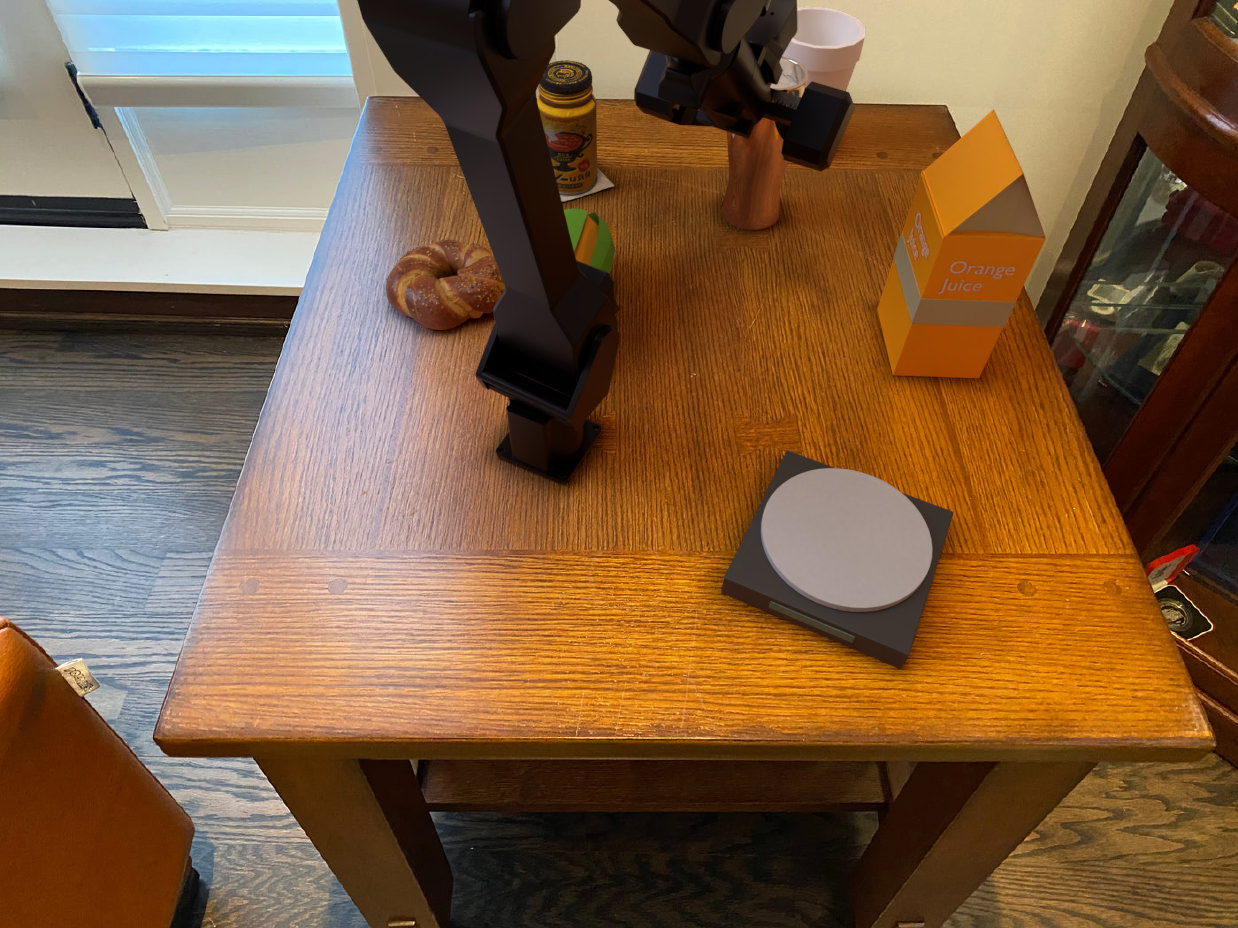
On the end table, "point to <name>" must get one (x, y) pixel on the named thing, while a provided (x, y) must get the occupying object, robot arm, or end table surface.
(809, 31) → the foam cup
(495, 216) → the robot arm
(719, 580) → the end table surface
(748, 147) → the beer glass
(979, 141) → the orange juice
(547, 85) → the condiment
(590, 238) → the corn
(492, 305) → the pretzel
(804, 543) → the scale
